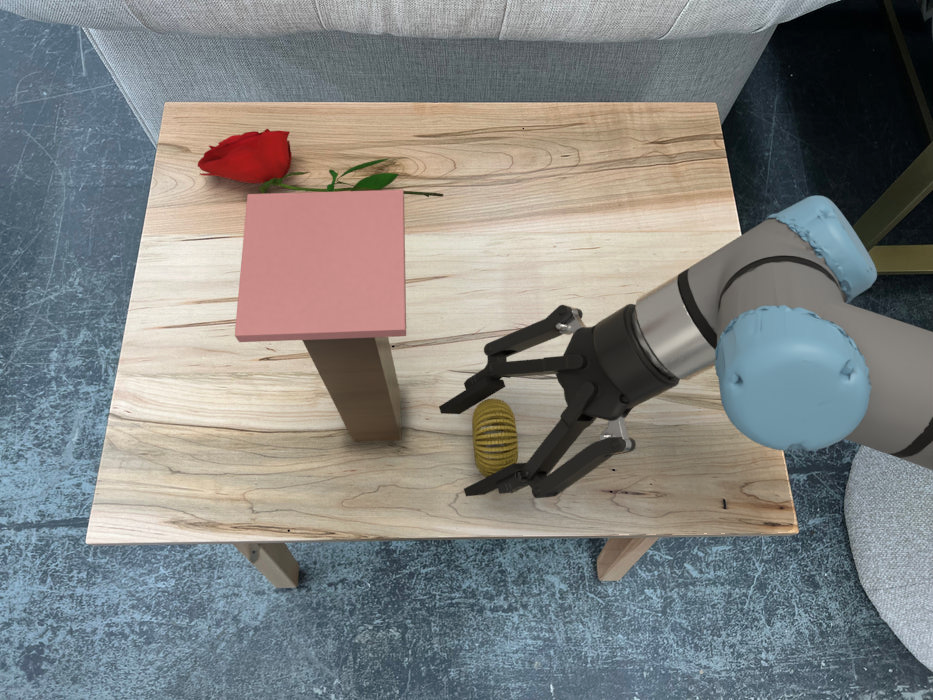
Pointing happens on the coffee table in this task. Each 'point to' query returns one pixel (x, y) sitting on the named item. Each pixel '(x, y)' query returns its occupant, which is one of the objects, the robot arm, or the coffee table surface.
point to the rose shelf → (322, 266)
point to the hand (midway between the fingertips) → (461, 450)
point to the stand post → (361, 384)
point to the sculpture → (494, 436)
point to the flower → (276, 164)
